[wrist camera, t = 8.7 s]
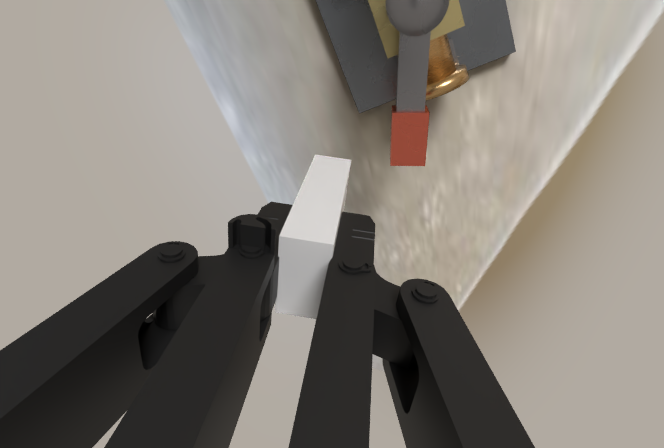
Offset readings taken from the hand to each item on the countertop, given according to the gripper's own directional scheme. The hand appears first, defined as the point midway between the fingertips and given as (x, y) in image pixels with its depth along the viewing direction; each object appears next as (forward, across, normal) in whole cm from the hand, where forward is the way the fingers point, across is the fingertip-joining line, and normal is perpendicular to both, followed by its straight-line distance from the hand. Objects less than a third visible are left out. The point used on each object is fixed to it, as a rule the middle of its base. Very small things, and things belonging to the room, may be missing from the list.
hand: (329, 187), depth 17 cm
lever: (+16, +4, +3) cm, 17 cm away
